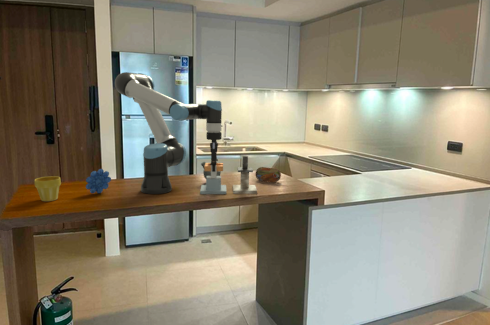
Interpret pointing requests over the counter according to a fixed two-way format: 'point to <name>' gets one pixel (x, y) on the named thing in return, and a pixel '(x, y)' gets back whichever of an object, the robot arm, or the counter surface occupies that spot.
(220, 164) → the link
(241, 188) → the post stand
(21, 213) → the counter surface
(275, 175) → the tin
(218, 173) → the mortar and pestle
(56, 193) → the plant pot
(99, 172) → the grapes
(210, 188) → the block
